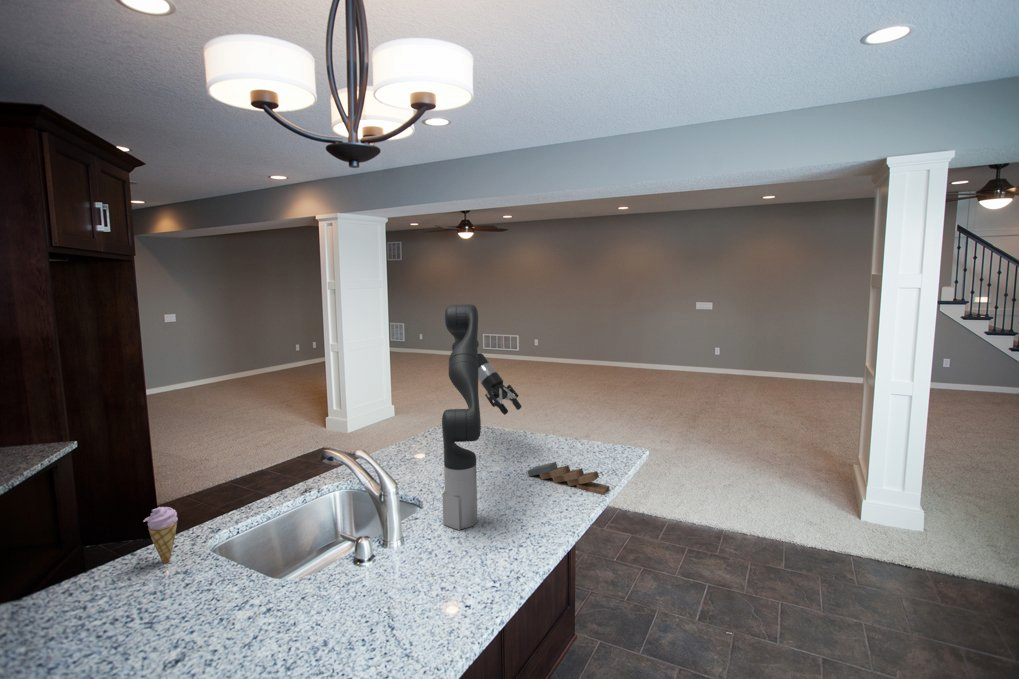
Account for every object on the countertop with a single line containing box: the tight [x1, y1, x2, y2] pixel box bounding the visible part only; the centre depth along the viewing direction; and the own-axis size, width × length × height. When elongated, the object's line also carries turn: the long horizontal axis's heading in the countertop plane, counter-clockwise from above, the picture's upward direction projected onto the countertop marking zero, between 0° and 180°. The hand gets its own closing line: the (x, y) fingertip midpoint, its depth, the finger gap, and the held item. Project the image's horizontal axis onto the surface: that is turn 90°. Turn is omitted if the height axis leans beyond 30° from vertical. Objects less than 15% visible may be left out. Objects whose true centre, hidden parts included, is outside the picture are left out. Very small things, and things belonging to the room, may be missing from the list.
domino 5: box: [576, 481, 610, 496], centre depth 170 cm, size 5×2×10 cm
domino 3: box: [552, 467, 585, 484], centre depth 175 cm, size 5×2×10 cm
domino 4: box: [566, 471, 600, 487], centre depth 172 cm, size 5×2×10 cm
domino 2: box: [538, 464, 571, 481], centre depth 178 cm, size 5×2×10 cm
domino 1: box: [527, 461, 558, 477], centre depth 181 cm, size 5×2×10 cm
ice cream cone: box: [143, 506, 179, 564], centre depth 128 cm, size 7×6×15 cm
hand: (513, 410), depth 192 cm, fingers open, 8 cm apart
